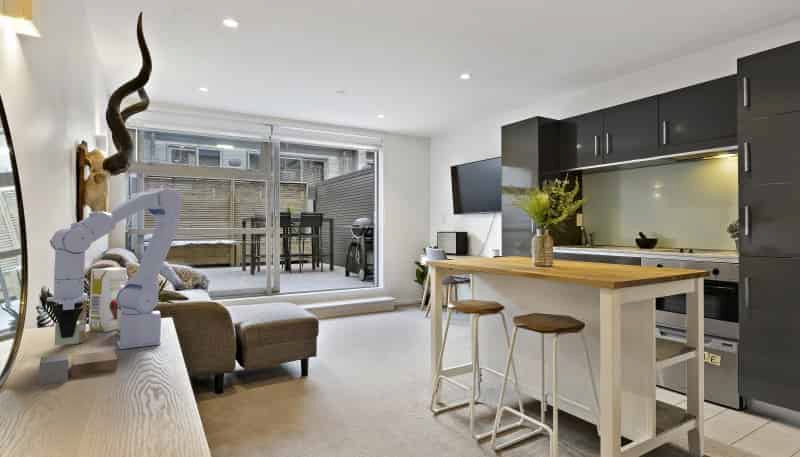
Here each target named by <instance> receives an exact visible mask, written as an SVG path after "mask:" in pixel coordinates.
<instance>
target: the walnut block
mask: <svg viewBox="0 0 800 457" xmlns="http://www.w3.org/2000/svg"><path fill="white" fill-rule="evenodd" d="M117 370H118V357H117V355H116V352H115V349H114V350H105V351H104V350H103V351H98V352H88V353H80V354H72V355H71V378H75V377H80V376H81V377H83V376H89V375H97V374H103V373H110V372H116V371H117Z"/></svg>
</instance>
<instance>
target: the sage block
mask: <svg viewBox="0 0 800 457" xmlns="http://www.w3.org/2000/svg"><path fill="white" fill-rule="evenodd" d="M79 325H80V324H79V321H77V324H76V328H75V332H74V335H73V337H69V338H62V337H61V334H60V328H59V323H58V321H57V322H55V326H54V346H61V345H62V346H63V345H64V346H65V345H75V344H74V343H79ZM79 344H80V343H79Z"/></svg>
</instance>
